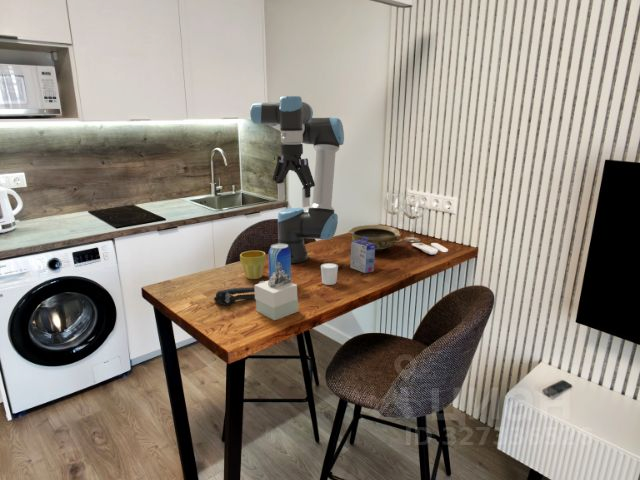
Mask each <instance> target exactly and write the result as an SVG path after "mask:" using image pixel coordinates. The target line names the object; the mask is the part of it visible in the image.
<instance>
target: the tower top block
mask: <svg viewBox="0 0 640 480" xmlns="http://www.w3.org/2000/svg"><path fill="white" fill-rule="evenodd" d="M268 282H269V279H268V280H265V282H263V283H260V282H258V283H257V284H254V286H253V287H254V289H255V292H254V294H255V299H254V300H255V301H256V300H258V301H260V302H262V303H265V304H267V305H269V306H271V307H273V308H275V307H278V306H280V305H283V304H285V303H288V302H291V301H293V300H296V299H297V298H298V284H296V283H293V282H291V283H288V284H286V285H284V286H280V287H278V288H274V287H270V286H268Z"/></svg>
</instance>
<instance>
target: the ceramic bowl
mask: <svg viewBox="0 0 640 480" xmlns="http://www.w3.org/2000/svg"><path fill="white" fill-rule="evenodd" d="M347 232H348V234H349V235H351V238H352V241H355V240H361V238H362V237H363V236H365V237H369V238H368V241H367V242H370V243H373V244H375V253H377V252H378V253H379V252H382V251H383V249H387V248H390V247H392V246H394V245H395V244H399V243H402V242H403V239H401V238H397V236H399V235H400V231H399V230H398V229H397V228H394V227H392V226H388V225H380V224H364V225H358V226H355V227H352V228H351V229H348V230H347ZM363 240H367V239H366V238H363Z"/></svg>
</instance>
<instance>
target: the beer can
mask: <svg viewBox="0 0 640 480" xmlns="http://www.w3.org/2000/svg"><path fill="white" fill-rule="evenodd" d="M277 262H280V263H281V265H282V270H283V271H284V272H285V273H286V275H288V276H289V278H290V279H291V280H292V263H291V251H290V249H289V248H288V245H287V244H282V243H279V244H278V243H274V244H271V245H270V247H269V250H268V271H269V272H268V273H269V275H268V277H269V279H270V277H272V274H273V273H274V272H276V265H277ZM279 266H280V265H279ZM276 274H277V273H276ZM269 279H268V280H269Z"/></svg>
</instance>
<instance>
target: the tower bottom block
mask: <svg viewBox="0 0 640 480" xmlns="http://www.w3.org/2000/svg"><path fill="white" fill-rule="evenodd" d="M255 305H256V306H255V309H256V312H258V313H260V314H262V315H263V316H265V317H267V318H269V319H271V320H273V321H276V320H280V319H283V318H285V317H287V316H290V315H292V314H295V313H298V312H299V298H298V297H297V299H296V300H293V301H291V302H288V303H285V304H283V305H280V306H278V307H275V308H273V307H271V306H269V305H267V304H265V303H262V302H260V301H258V300H256V299H255Z"/></svg>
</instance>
